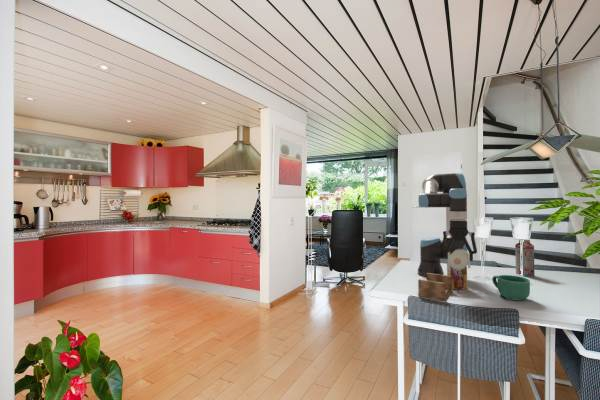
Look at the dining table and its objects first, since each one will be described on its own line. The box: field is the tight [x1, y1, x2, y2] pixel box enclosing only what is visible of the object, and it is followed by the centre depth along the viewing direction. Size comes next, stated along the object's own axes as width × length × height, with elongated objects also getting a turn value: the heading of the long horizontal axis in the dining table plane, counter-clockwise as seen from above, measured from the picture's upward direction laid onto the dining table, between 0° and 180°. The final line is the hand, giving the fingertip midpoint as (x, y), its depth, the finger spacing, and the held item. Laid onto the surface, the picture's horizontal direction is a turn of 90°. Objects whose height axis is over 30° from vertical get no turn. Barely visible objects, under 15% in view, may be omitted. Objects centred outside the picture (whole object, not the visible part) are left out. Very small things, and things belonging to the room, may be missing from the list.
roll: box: [447, 249, 469, 270], centre depth 143 cm, size 12×8×8 cm, turn 145°
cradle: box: [417, 273, 453, 302], centre depth 148 cm, size 12×18×8 cm, turn 143°
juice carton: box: [514, 239, 535, 277], centre depth 184 cm, size 7×7×22 cm
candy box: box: [446, 259, 468, 290], centre depth 157 cm, size 9×4×15 cm, turn 89°
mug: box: [491, 274, 531, 301], centre depth 142 cm, size 17×12×10 cm
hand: (459, 266), depth 143 cm, fingers closed on roll, 8 cm apart
